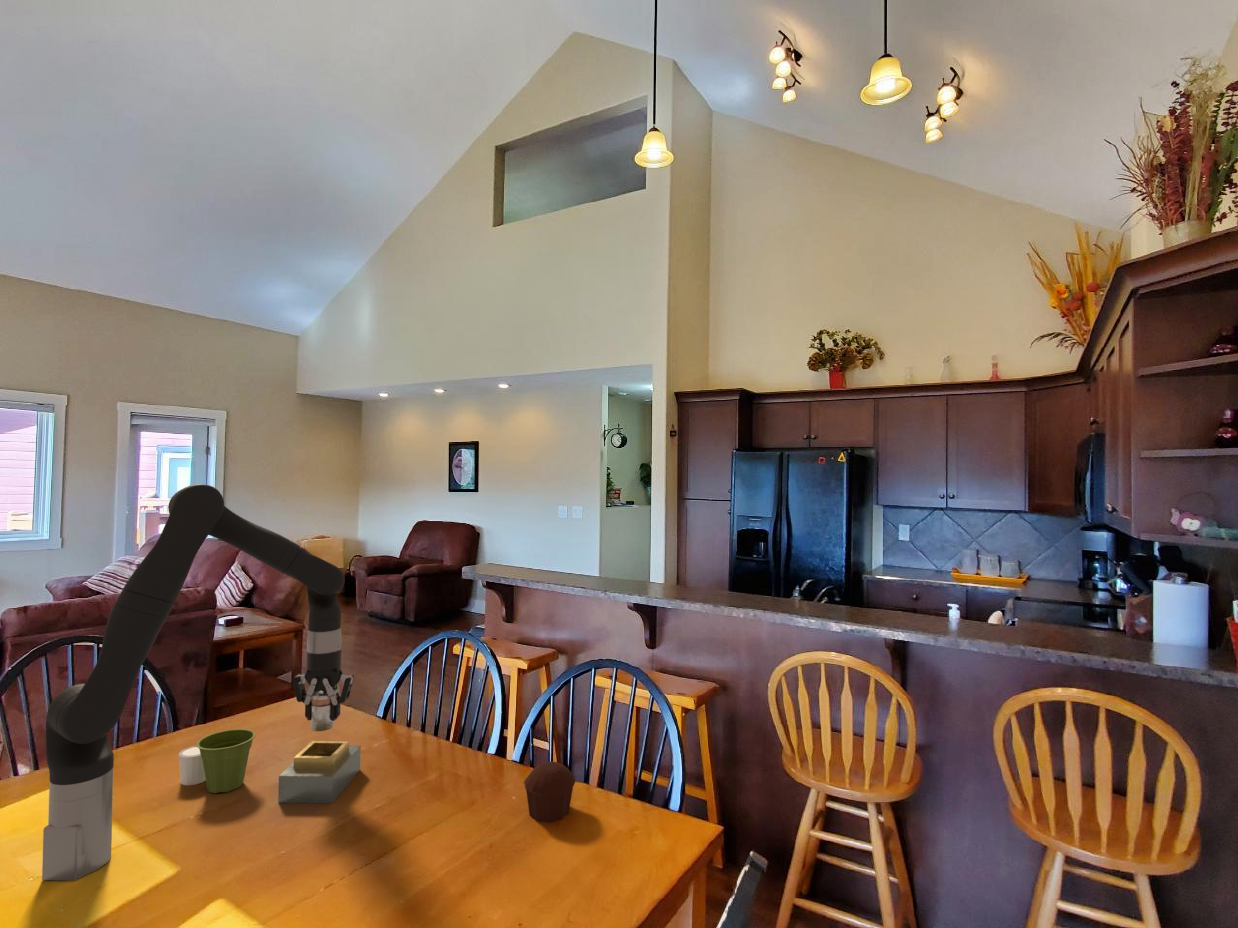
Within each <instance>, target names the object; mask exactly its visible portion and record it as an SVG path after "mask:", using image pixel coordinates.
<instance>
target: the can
mask: <svg viewBox="0 0 1238 928" xmlns="http://www.w3.org/2000/svg"><path fill="white" fill-rule="evenodd" d="M332 705H333V704H332V701H331V698H330V697H329V696H328V693H327V692H324V691H319V692H316V693H315V694H313V695H312V698H311V720H310V730H311V731H313V732H324V731H329V730H331V729H333V728H334V727H335V721H331V706H332Z"/></svg>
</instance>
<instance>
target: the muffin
mask: <svg viewBox="0 0 1238 928" xmlns="http://www.w3.org/2000/svg"><path fill="white" fill-rule="evenodd" d="M523 783H524V788H525V790H526V791H525V792H526V798H527V804H528V805H527V806H528V814H529V817H531V818H533V819H534V820H535V821H536V822H545V823H552V822H557V821H562V820H563V819H564V817H566V816H568V815H569V813H570V808H571V807H570V806H571V801H572V795H573V790H574V786H575V785H576V784H575V783H576V779H575V777H574V775H573V773H572V772H571V771H570V769H569V768H568V767H566V766H565V765H564V764H562V763H560V762H556V761H546V762H543V763H541V764H539V765H537V766H535V767H534V768H533V769H532V770H531V771H530V772H529V774H528V775H527V777H526V778H525V779H524V781H523Z"/></svg>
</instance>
